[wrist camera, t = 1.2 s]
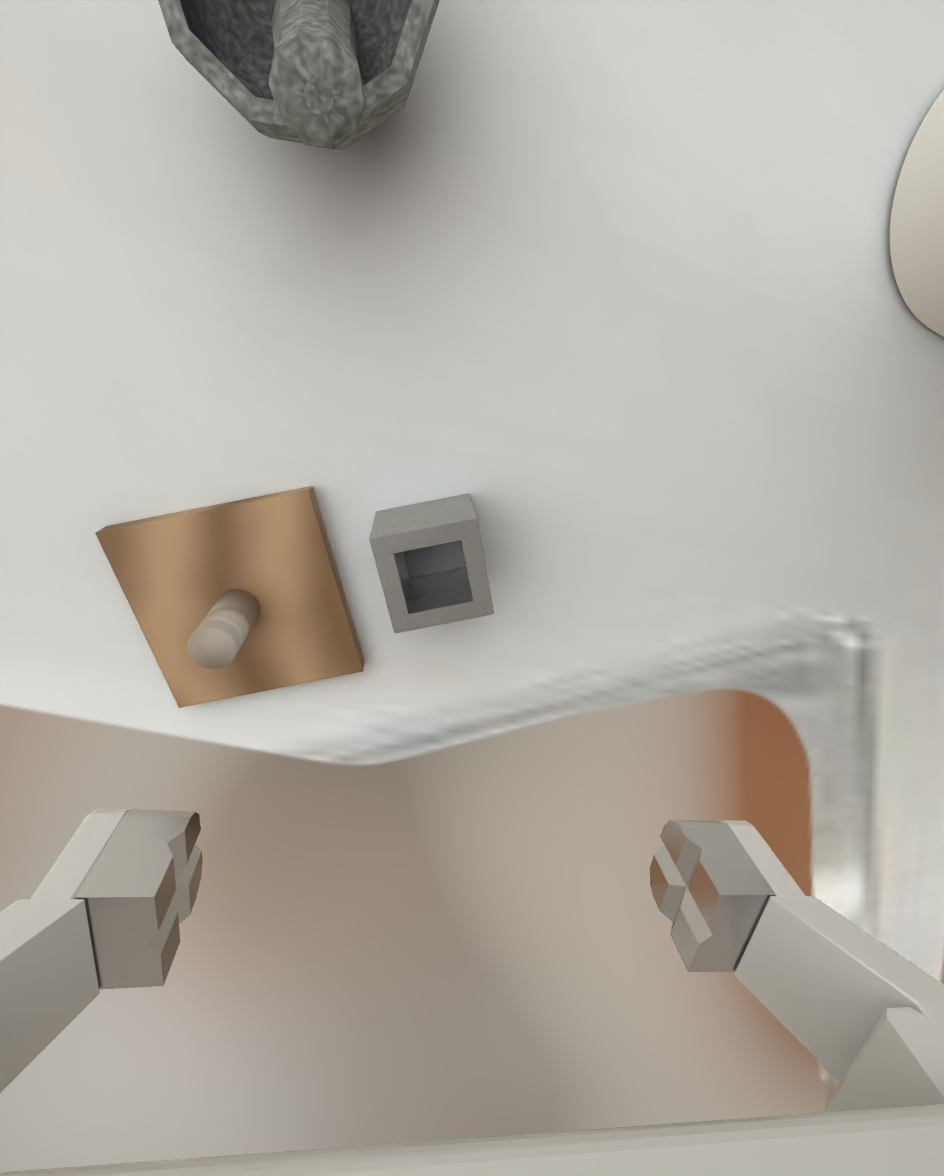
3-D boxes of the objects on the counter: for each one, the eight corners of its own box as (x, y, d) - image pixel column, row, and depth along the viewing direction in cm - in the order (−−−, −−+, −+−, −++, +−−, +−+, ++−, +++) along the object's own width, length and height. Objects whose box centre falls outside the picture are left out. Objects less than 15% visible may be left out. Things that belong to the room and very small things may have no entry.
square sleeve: (468, 493, 34) (476, 518, 29) (484, 578, 36) (494, 613, 31) (376, 511, 33) (369, 539, 29) (397, 595, 36) (394, 633, 31)
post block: (312, 486, 33) (290, 517, 27) (364, 661, 37) (355, 719, 32) (106, 526, 32) (40, 566, 27) (186, 696, 37) (144, 760, 32)
